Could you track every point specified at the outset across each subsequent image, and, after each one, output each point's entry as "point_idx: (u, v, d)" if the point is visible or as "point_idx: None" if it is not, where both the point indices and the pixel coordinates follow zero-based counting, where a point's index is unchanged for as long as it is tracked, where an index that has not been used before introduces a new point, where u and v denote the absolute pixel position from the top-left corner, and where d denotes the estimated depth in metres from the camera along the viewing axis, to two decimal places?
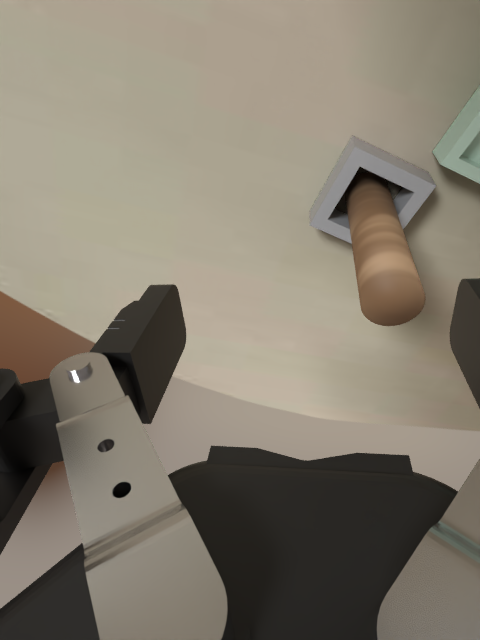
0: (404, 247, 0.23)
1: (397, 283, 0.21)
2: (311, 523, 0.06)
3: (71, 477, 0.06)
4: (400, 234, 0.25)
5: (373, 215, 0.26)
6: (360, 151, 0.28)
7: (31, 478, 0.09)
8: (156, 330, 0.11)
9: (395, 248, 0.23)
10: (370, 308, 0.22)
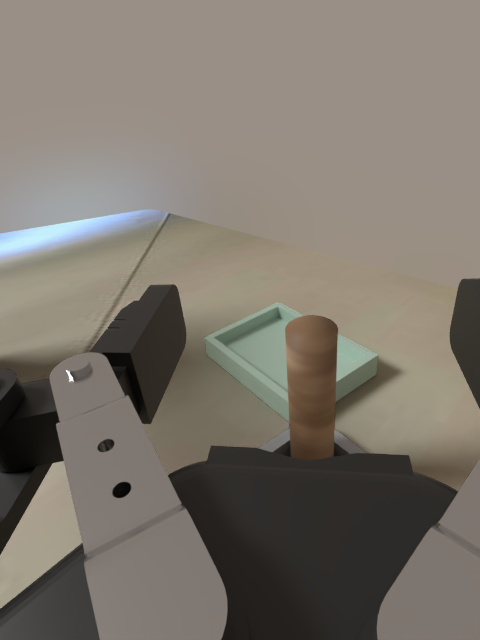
0: None
1: (292, 325, 0.26)
2: (311, 523, 0.05)
3: (71, 477, 0.06)
4: None
5: None
6: None
7: (31, 478, 0.09)
8: (156, 330, 0.11)
9: None
10: (311, 339, 0.25)
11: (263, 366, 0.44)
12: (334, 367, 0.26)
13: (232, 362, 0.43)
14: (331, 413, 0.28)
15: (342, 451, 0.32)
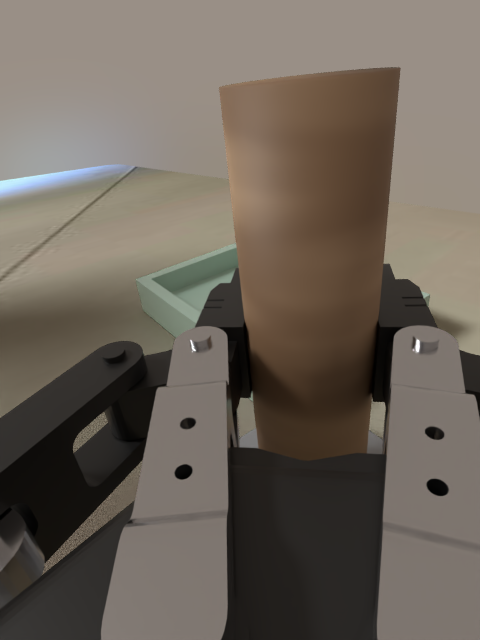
0: None
1: (247, 82, 0.08)
2: (311, 523, 0.06)
3: (149, 442, 0.06)
4: None
5: None
6: None
7: (135, 451, 0.09)
8: None
9: None
10: (308, 80, 0.07)
11: None
12: (382, 212, 0.08)
13: (174, 313, 0.25)
14: (366, 374, 0.10)
15: None
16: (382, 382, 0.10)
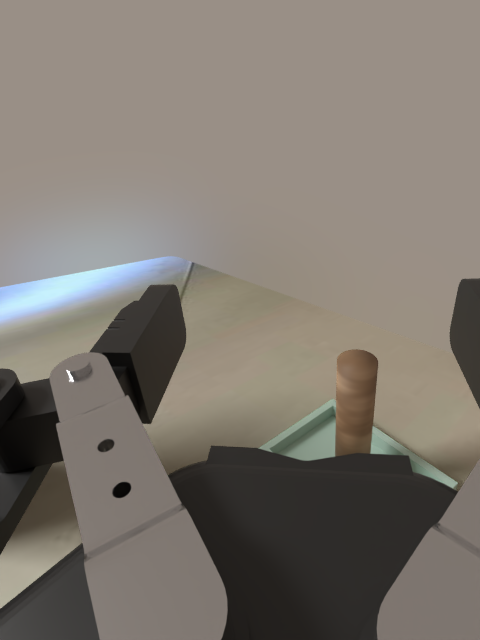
0: None
1: (342, 357, 0.34)
2: (311, 523, 0.05)
3: (71, 477, 0.06)
4: None
5: None
6: None
7: (31, 478, 0.09)
8: (156, 330, 0.11)
9: None
10: (359, 369, 0.33)
11: None
12: (374, 389, 0.34)
13: None
14: (370, 424, 0.36)
15: None
16: None
